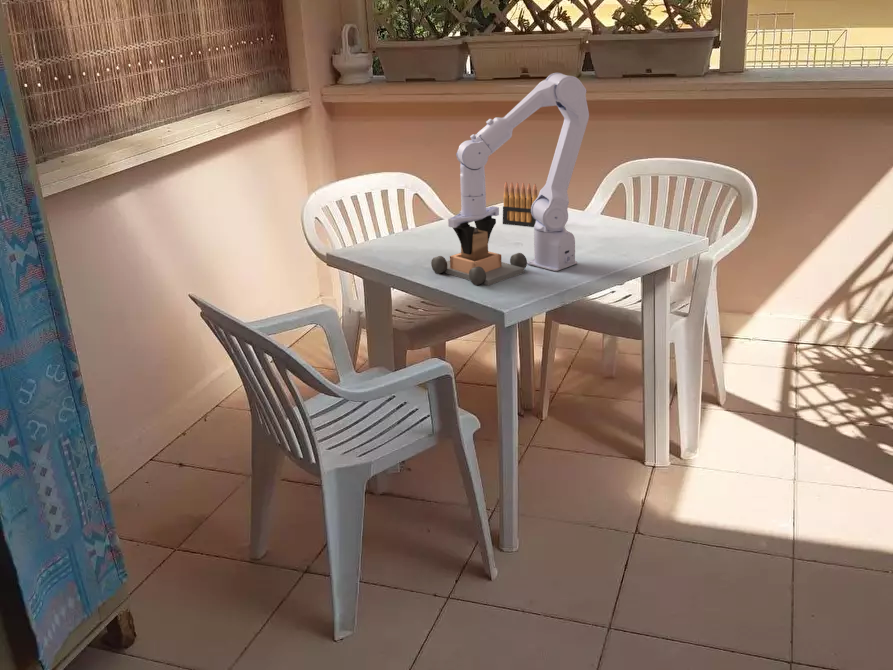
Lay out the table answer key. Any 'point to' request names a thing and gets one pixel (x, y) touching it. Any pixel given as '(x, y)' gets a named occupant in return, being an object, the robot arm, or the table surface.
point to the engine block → (477, 246)
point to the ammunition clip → (518, 205)
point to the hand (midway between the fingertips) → (475, 251)
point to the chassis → (481, 267)
